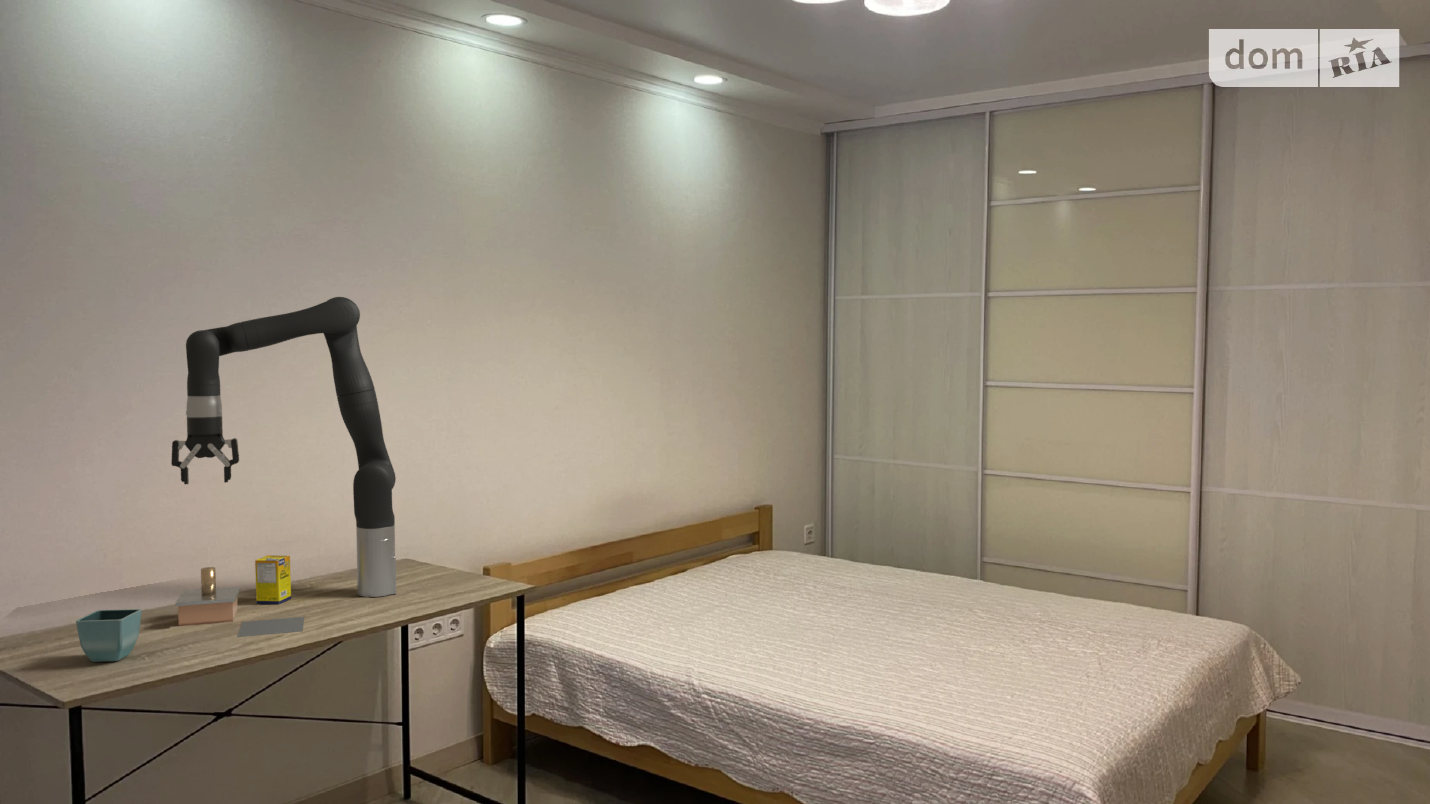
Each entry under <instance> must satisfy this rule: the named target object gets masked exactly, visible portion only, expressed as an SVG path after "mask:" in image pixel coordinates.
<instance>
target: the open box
mask: <svg viewBox="0 0 1430 804" xmlns="http://www.w3.org/2000/svg"><path fill="white" fill-rule="evenodd" d="M177 609H178V610H177V611H178V615H177V616H178V617H177V618H178V627H187V626H197V625H209V624H220V623H221V624H222V623H233V622H234V621H235V618H236V615H237V614H238V613H237V612H238V610H239V609H238V598H237V599H236V601H235V602H225V603H212V604H199V605H186V606H177Z"/></svg>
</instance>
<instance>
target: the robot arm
mask: <svg viewBox="0 0 1430 804" xmlns="http://www.w3.org/2000/svg"><path fill="white" fill-rule="evenodd" d="M360 319H361V312H360V309H359V307H358V305H357V304H356V302H354V301H353V300H352V299H350V298H347V297H345V296H334V297H331V298H329V299H327V300H326V301H324V302H321V303H318V304H316V305H313V306H311V307H307V308H303V309H300V310H296V311H292V312H286V313H282V314H276V315H269V316H264V317H258V318H254V319H248V320H244V321H239V322H234V323H233V324H232V323H231V324H229V325H226V326H221V327H214V328H209V329H208V328H207V329H203V330H202V329H200V330H196V331H193V332H191V334H189V336H188V337H187V339H186V341H185V352H186V364H187V378H186V380H187V381H186V391H187V392H186V395H187V398H186V399H187V400H186V411H185V415H186V434H187V435H186V436H187V437H186V440H179V439H175V440H173V441H172V443H171V462H170V463H171V466H172V467H177V468H179V469H180V481H181V482H182V483H184V485H189V484H190V483H189V481H190V479H189V468H188V465H189V464H190V462H192V461H193V459H195V458H197V459H202V458H208V459H211V458H212V459H213V458H214V457H216V459H218V460H219V461H220V462H221V463H222V464H223V465H224V466H223V482H224V483H228V482H229V481H230V480H231V479H232V466H233V465H236V464H238V463H239V462H240V454H239V443H238V438H236V437H234V438H231V439H229V438H227V439H225V438H224V435H223V434H224V433H223V404H222V398H221V379H220V373H219V368H220V357H222V356H226V355H230V354H232V353H233V354H234V353H241V352H249V351H252V350H253V351H254V350H257V349H261V348H267V347H271V346H274V345H278V344H280V343H284V342H287V341H290V340H295V339H298V338H301V337H305V336H311V335H316V334H317V335H318V334H323V335H324V339H325V341H326V345H327V348H328V350H329V355H330V358H331V359H330V360H331V368H332V375H333V383H334V389H335V394H336V397H337V399H336V400H337V402H338V407H339V412H340V415H341V418H342V421H343V423H344V425H345V427H346V429H347V432H348V433H349V436H350V437H351V440H352V442H353V444H354V447H355V452H356V458H357V465H358V466H357V467H358V470H357V471H356V473H355V474H354V476H353V482H352V483H353V484H352V490H353V491H352V492H353V493H352V494H353V511H354V512H353V514H354V518H355V525H356V527H355V528H356V531H355V532H356V571H357V572H356V574H357V575H356V578H357V579H356V580H357V583H356V586H357V595H358V596H360V597H367V598H375V597H377V598H378V597H385V596H391V595H395V594H397V559H396V558H397V556H396V534H395V533H396V531H395V530H396V528H395V517H396V516H395V513H394V510H393V490H394V487H395V484H396V479H397V477H396V473H395V470H394V467H393V464H392V461H391V459H390V456H389V455H390V454H389V453H388V450H387V446H386V443H385V439H384V432H383V426H382V424H383V423H382V419H381V413H380V409H379V401H378V398H377V394H376V393H377V392H376V389H375V385H374V382H373V380H372V376H371V373H370V371H369V368H368V366H367V364H366V362H365V359H364V357H363V355H362V352H361V346H360V342H359V335H358V326H357V325H358V324H359V322H360ZM225 445H227V447H228V448H229V449H231V457H232V458H231V459H229V458H228V457H227V456H226V455H225V453H224V452H223V451H222V449H223V448H224V446H225ZM184 446H185V448H187V449H188V451H189V453H188V454H187V456H186V457H185V458H184V459H183V461H180V451H181V450H182V449H183V448H184Z"/></svg>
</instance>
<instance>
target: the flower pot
mask: <svg viewBox="0 0 1430 804" xmlns="http://www.w3.org/2000/svg"><path fill="white" fill-rule="evenodd" d="M142 611H143V610H142V608H139V609H138V608H137V609H134V608H131V609H126V608H125V609H101V610H99V609H98V610H96V611H93V612H91V613H89V614H87V615H85V616H83V617H81V618H79V619H76V620H75V623H76V624H75V625H76V629H77V634H78V640H79V644H80V647H81V649H82V651H83V653H84V655H85V656H86V657H87V658H88V659H89V661H91V662H92V663H93V662H94V663H100V662H118V661H120V660H122V659H124V658H125V657H127V656H129V655H130V654H131V652H132V651H133V649H134V647H135V645H136V643H137V641H138V638H139V633H140V628H141V620H142Z"/></svg>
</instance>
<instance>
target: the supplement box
mask: <svg viewBox="0 0 1430 804" xmlns="http://www.w3.org/2000/svg"><path fill="white" fill-rule="evenodd" d="M254 563H255V564H254V565H255V591H256V592H255V596H256V605H259V604H260V605H280V604H283V603H285V602H287V601H290V600H291V599H292V578H291V555H276V554H275V555H274V554H273V555H272V554H271V555H265V556H263V557H259V558H257V559H255V560H254Z"/></svg>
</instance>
